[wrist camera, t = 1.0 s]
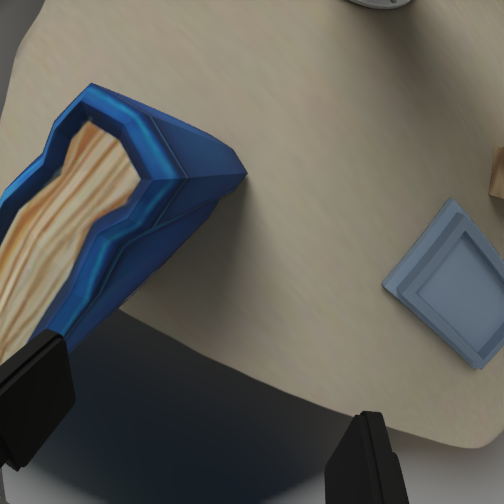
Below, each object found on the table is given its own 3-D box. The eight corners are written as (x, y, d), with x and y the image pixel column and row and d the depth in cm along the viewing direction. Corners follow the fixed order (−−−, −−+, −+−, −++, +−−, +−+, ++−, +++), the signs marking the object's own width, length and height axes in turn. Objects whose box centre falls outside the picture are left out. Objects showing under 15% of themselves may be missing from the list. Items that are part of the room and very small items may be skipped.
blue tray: (449, 197, 32) (462, 201, 28) (527, 299, 33) (538, 308, 30) (381, 282, 35) (388, 293, 32) (472, 365, 37) (480, 377, 34)
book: (216, 122, 33) (71, 54, 9) (261, 168, 33) (192, 179, 9) (101, 252, 38) (-51, 342, 14) (137, 292, 39) (7, 417, 15)
